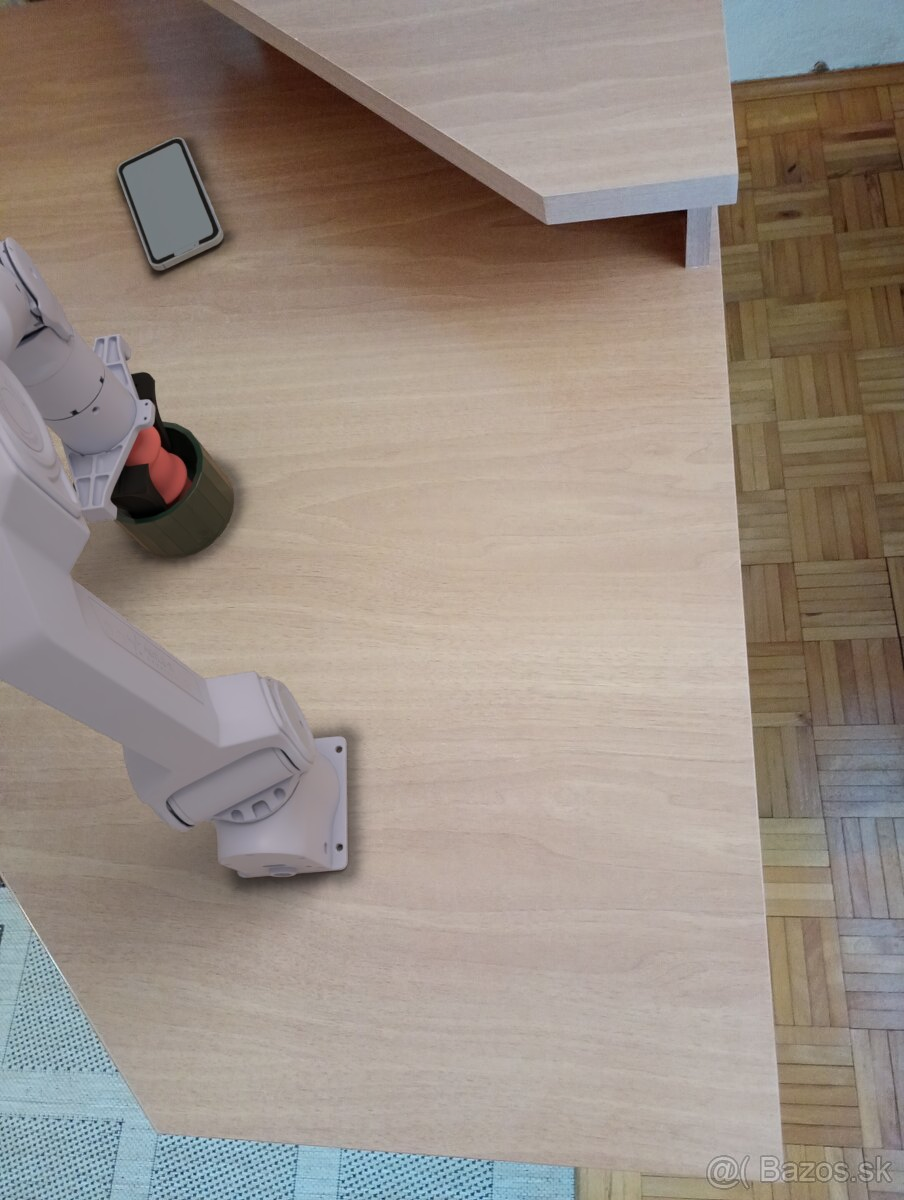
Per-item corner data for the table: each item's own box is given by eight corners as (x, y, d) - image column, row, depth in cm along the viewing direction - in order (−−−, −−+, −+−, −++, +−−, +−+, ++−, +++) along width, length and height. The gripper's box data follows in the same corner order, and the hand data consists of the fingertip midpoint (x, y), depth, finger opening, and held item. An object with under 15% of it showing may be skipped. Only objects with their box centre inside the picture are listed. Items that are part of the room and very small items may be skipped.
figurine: (195, 531, 85) (102, 434, 72) (138, 525, 87) (36, 429, 73) (212, 475, 87) (125, 370, 74) (157, 470, 89) (60, 366, 75)
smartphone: (182, 133, 104) (224, 235, 98) (186, 141, 105) (228, 242, 99) (113, 166, 105) (151, 269, 98) (118, 173, 105) (155, 276, 99)
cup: (232, 550, 86) (200, 515, 80) (128, 564, 88) (89, 531, 82) (236, 453, 90) (205, 413, 84) (136, 468, 91) (99, 430, 85)
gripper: (112, 469, 68) (200, 557, 81) (128, 287, 74) (208, 395, 86) (11, 484, 70) (113, 569, 82) (36, 304, 75) (127, 408, 88)
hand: (157, 481), depth 84 cm, fingers closed on figurine, 5 cm apart
